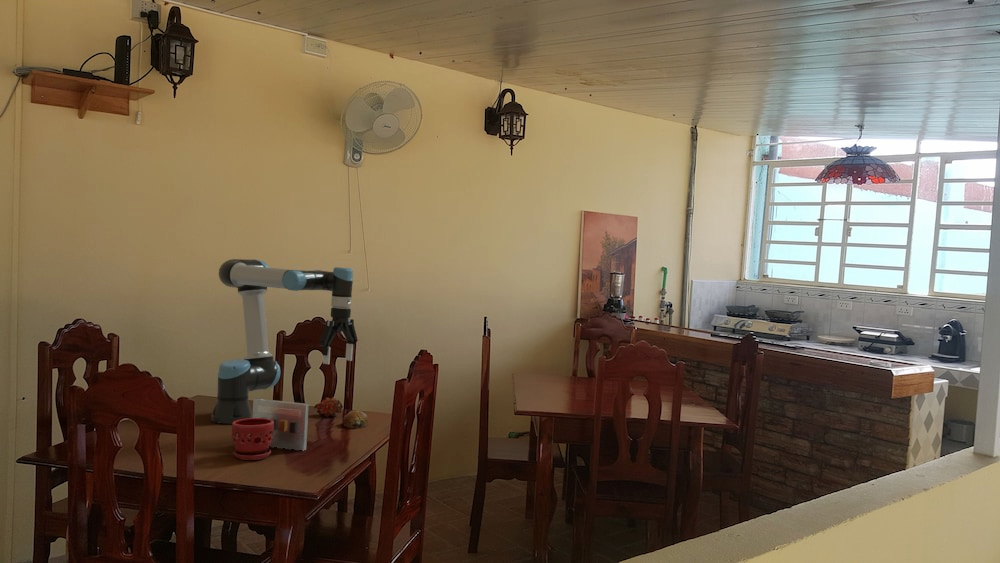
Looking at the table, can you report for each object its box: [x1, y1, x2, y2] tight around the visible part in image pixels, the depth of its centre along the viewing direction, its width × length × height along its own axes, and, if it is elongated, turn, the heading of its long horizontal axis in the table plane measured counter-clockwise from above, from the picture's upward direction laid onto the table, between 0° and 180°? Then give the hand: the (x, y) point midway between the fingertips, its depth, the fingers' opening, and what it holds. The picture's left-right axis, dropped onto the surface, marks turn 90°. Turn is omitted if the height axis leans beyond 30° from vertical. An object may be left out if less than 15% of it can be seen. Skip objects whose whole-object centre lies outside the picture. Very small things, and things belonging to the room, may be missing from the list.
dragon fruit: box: [313, 396, 344, 418], centre depth 303 cm, size 8×8×12 cm
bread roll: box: [343, 409, 369, 429], centre depth 289 cm, size 10×10×8 cm
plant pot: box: [231, 418, 274, 461], centre depth 237 cm, size 13×13×12 cm
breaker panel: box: [252, 397, 309, 452], centre depth 250 cm, size 20×3×16 cm, turn 78°
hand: (337, 362), depth 278 cm, fingers open, 13 cm apart
